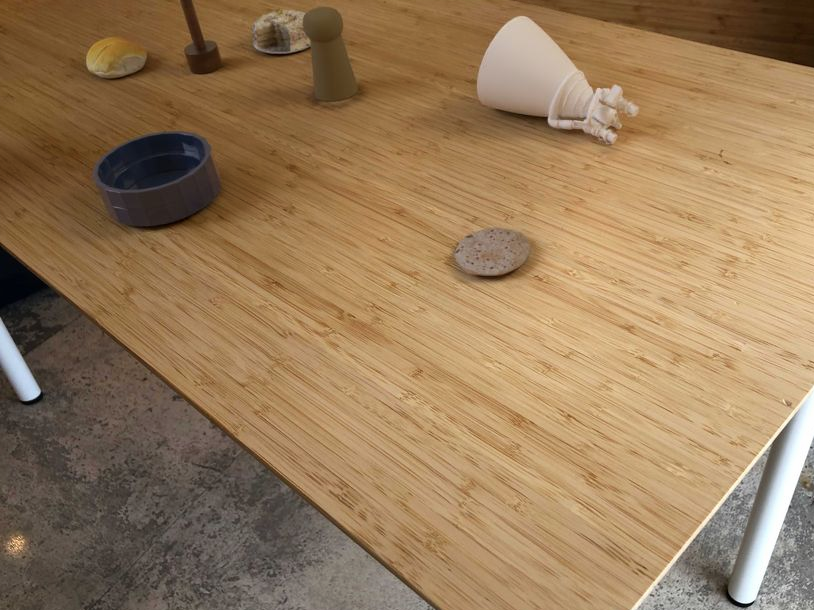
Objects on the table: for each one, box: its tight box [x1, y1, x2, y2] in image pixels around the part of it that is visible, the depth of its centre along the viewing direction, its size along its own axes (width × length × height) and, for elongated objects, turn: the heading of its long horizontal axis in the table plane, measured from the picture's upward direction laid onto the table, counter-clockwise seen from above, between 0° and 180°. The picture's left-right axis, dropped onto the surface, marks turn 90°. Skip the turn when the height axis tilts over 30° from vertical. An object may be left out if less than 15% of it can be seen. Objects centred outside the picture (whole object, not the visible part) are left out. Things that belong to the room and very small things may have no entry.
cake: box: [251, 8, 311, 55], centre depth 128 cm, size 10×10×5 cm
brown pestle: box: [179, 0, 223, 75], centre depth 120 cm, size 5×5×15 cm
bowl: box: [91, 130, 222, 227], centre depth 98 cm, size 13×13×5 cm
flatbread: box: [454, 226, 532, 277], centre depth 86 cm, size 8×8×1 cm
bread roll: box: [85, 36, 148, 80], centre depth 126 cm, size 8×9×4 cm
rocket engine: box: [476, 15, 640, 145], centre depth 102 cm, size 12×12×18 cm
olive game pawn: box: [303, 6, 359, 102], centre depth 112 cm, size 6×6×11 cm
